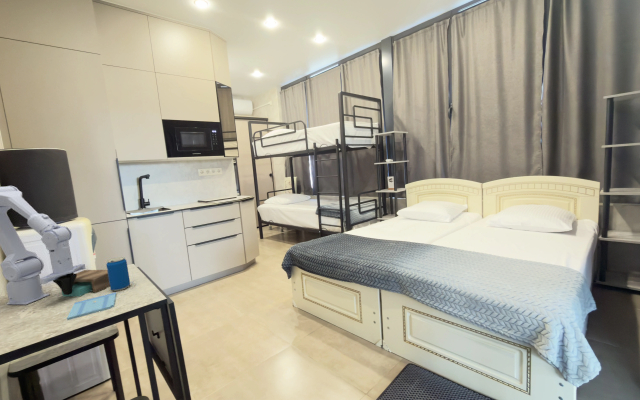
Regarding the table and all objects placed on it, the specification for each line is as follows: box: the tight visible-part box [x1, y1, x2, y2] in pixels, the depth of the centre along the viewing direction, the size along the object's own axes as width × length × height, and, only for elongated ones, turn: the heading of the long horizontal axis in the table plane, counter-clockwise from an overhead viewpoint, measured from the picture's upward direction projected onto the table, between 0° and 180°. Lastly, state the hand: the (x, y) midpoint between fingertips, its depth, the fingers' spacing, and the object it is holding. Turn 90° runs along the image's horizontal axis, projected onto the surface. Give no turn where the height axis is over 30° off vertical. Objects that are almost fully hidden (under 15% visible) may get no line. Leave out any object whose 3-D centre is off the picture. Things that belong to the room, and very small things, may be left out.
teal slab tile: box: [61, 282, 93, 297], centre depth 111 cm, size 8×10×3 cm
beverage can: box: [105, 256, 131, 292], centre depth 110 cm, size 6×6×12 cm
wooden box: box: [73, 269, 110, 294], centre depth 114 cm, size 16×10×6 cm, turn 81°
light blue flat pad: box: [66, 291, 117, 321], centre depth 97 cm, size 14×12×1 cm
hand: (68, 294), depth 105 cm, fingers closed
